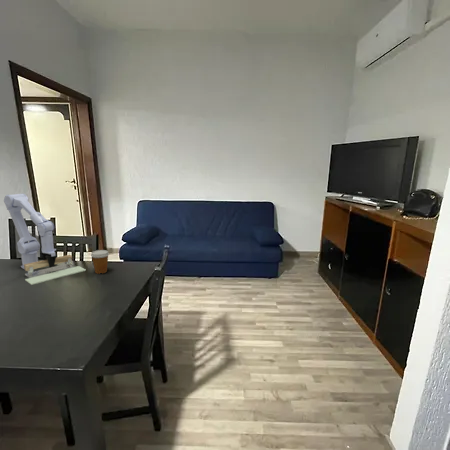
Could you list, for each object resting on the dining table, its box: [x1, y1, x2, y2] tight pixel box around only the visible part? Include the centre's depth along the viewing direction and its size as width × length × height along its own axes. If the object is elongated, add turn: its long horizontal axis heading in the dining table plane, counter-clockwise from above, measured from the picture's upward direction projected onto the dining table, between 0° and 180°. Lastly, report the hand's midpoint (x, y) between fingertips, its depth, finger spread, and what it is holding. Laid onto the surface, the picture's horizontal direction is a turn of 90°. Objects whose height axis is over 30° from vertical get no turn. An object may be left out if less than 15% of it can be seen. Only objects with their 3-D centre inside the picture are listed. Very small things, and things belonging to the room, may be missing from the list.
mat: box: [24, 265, 87, 286], centre depth 159 cm, size 9×28×1 cm, turn 141°
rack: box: [24, 258, 74, 278], centre depth 164 cm, size 7×23×6 cm, turn 141°
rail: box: [23, 254, 73, 272], centre depth 164 cm, size 3×24×3 cm, turn 141°
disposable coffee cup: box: [90, 249, 110, 275], centre depth 165 cm, size 10×10×12 cm
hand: (49, 265), depth 164 cm, fingers open, 6 cm apart
